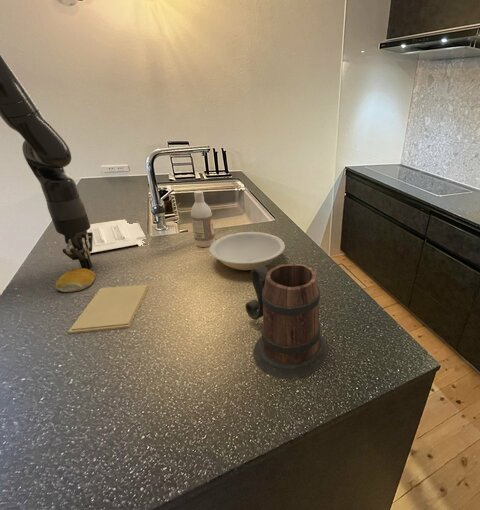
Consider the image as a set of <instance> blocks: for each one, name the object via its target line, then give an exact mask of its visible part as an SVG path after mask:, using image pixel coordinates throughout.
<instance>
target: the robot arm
mask: <svg viewBox="0 0 480 510" xmlns="http://www.w3.org/2000/svg"><path fill="white" fill-rule="evenodd" d="M0 118H1V120H3V122H4V123H5V124H6V125H7V126H8V127H9V128H10V129H12V130H13V131H16V133H18V134H19V135H20V136H21V137H22V139H24V141H23V143H22V148H21V150H22V154H23V158H24V159H25V161H26V164H27V165H28V167H29V168H30V170H31V172H32V173H33V175H34V177H35V178H36V179H37V180H38V182H39V184H40V188H41V190H42V193H43V196H44V199H45V201H46V206H47V210H48V213H49V216H50V219H51V221H52V223H53V226H54V229H55V231H56V233H58V234H60V235H62V236H64V241H65V242H64V243H65V244H66V248H62V254H63V255H65V256H67V257H68V258H70V259H71V260H72V261H78V262H79V264H80V267H81V268H84V269H88V270H91V269H92V268H93V267H94V266H93V263H92V261H91V253H90V252H92V241H93V233H92V232H87V230H88V229H89V228H90V224H91V223H90V220H89V217H88V213H87V210H86V207H85V204H84V202H83V200H82V198H81V195H80V192H79V189H78V186H77V183H76V181H75V179H74V178H73V177H72V176H71V175H69V174H68V173H67V172H66V170H65V168H66V167H68V166H69V165H70V164H71V161H72V157H73V156H72V151H71V150H70V149H71V148H70V147H69V146H68V143H67V142H66V141H65V139H64V138H63V137H62V136H61V134H60V133H58V131H57V130H56V129H55V128H54V127H53V126H52V125H51V124H50V123H49V122H48V121H47V120H46V119H45V117H44V116H43V114H42V113H41V111H40V110H39V108H38V107H37V105H36V103H35V102H34V100H33V99H32V97H31V95H30V94H29V93H28V91H27V90H26V88H25V86H23V84H22V82H21V81H20V79H19V78H18V77H17V76H16V74H15V72H14V71H13V70H12V68H11V67H10V66H9V64H8V63H7V61H6V59H5V58H4V57H3V56H2V54H1V53H0Z"/></svg>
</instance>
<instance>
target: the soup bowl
mask: <svg viewBox="0 0 480 510" xmlns="http://www.w3.org/2000/svg"><path fill="white" fill-rule="evenodd" d="M285 249H286V243H285V242H284V240H283V239H281V238H280V237H278V236H276V235H274V234H271V233H266V232H260V231H242V232H235V233H230V234H227V235H224V236H222V237H219V238H218V239H215V241H214V242H213V243H212V244H211V246H209V254H210V255H211V256H212V257H213V258H214V259H216V260H217V261H220V262H221V263H222V264H223V265H225V266H227V267H229V268H231V269H234V270H239V271H251V270H252V269H253V268H256V267H258V266H260V265H262V266H265V267H266V266H268V265H270V264H272V263H273V262H274V261H275V260H276V259H277V258H278V257H280V255H282V254H283V253H284V251H285Z"/></svg>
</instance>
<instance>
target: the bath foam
mask: <svg viewBox="0 0 480 510" xmlns="http://www.w3.org/2000/svg"><path fill="white" fill-rule="evenodd" d="M193 195H194V203H193V205H192V207H191V210H190V218H191V225H192V232H193V237H194V238H193V239H194V244H195V246H197V247H198V248H199V247H200V248H208V247H209V248H210V246H211V244H212V243H213V242H214V241H216V236H215V227H214V220H213V219H214V218H213V212H212V210H211V208H210V206H209V205H208V203H207V202H205V197H204V191H203V190H194V191H193Z"/></svg>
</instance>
